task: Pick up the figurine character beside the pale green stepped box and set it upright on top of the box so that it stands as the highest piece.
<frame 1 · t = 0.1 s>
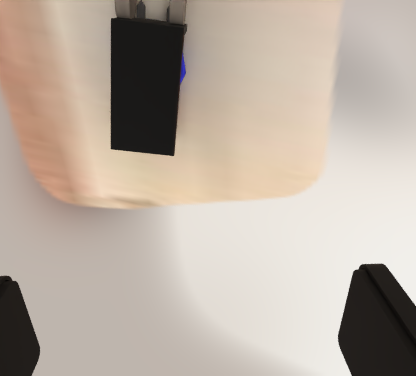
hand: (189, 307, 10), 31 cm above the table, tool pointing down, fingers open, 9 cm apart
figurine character: (153, 63, 36), on the table
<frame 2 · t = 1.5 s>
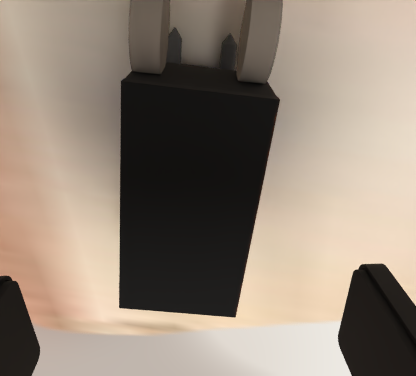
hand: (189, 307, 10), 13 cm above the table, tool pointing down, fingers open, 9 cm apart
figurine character: (192, 132, 21), on the table
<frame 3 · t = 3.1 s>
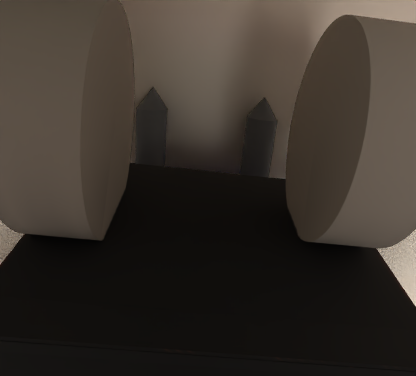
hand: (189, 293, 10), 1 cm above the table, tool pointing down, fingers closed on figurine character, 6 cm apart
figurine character: (189, 258, 12), on the table, touching gripper
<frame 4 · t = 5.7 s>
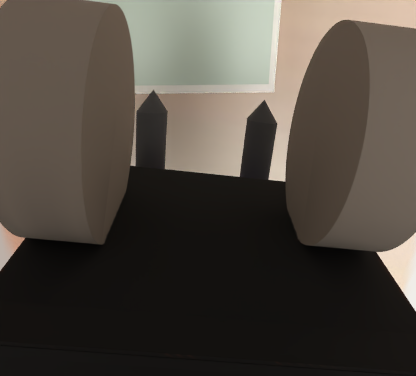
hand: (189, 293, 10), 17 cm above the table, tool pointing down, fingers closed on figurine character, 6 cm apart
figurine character: (189, 260, 12), point 15 cm above the table, touching gripper
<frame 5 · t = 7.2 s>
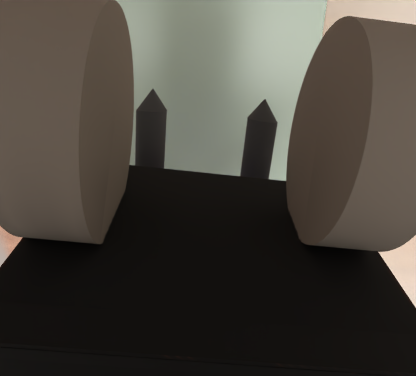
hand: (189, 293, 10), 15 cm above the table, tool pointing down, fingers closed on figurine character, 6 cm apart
pale green stepped box: (192, 130, 23), on the table
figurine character: (189, 260, 12), point 13 cm above the table, touching gripper
when the fingers open (10 cm above the table, at t = 8.5 s): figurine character drops 1 cm, resting on pale green stepped box.
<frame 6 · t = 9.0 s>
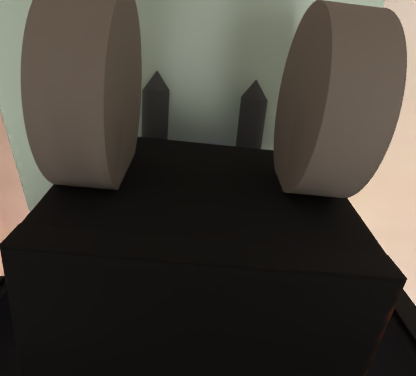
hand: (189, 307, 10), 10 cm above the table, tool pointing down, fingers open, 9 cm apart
pale green stepped box: (191, 163, 19), on the table
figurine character: (190, 231, 13), point 7 cm above the table, touching pale green stepped box
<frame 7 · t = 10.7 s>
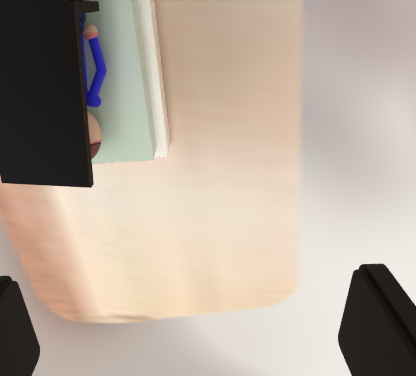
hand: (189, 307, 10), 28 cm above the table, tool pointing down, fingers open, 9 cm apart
pale green stepped box: (90, 51, 33), on the table
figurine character: (67, 59, 27), point 7 cm above the table, touching pale green stepped box
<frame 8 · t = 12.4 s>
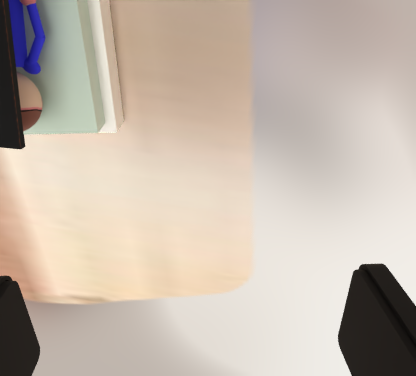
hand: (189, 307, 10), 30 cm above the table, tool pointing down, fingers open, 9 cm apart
pale green stepped box: (44, 25, 34), on the table
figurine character: (10, 27, 27), point 7 cm above the table, touching pale green stepped box
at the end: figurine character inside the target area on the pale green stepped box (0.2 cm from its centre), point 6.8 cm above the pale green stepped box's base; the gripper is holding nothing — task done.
